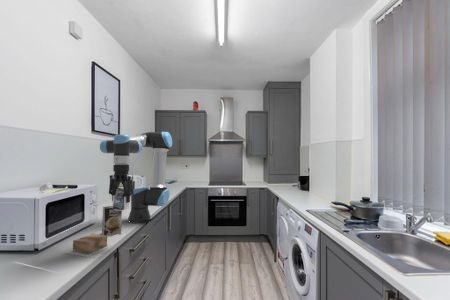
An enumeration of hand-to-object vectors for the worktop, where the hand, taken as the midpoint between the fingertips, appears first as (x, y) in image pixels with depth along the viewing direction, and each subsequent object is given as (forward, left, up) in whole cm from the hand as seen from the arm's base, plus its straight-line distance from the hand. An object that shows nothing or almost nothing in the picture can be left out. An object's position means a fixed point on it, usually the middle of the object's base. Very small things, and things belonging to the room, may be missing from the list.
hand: (120, 208), depth 113 cm
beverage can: (0, 0, -1) cm, 1 cm away
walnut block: (+10, -8, -18) cm, 22 cm away
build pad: (+10, -8, -18) cm, 22 cm away
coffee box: (-10, -16, -19) cm, 26 cm away
